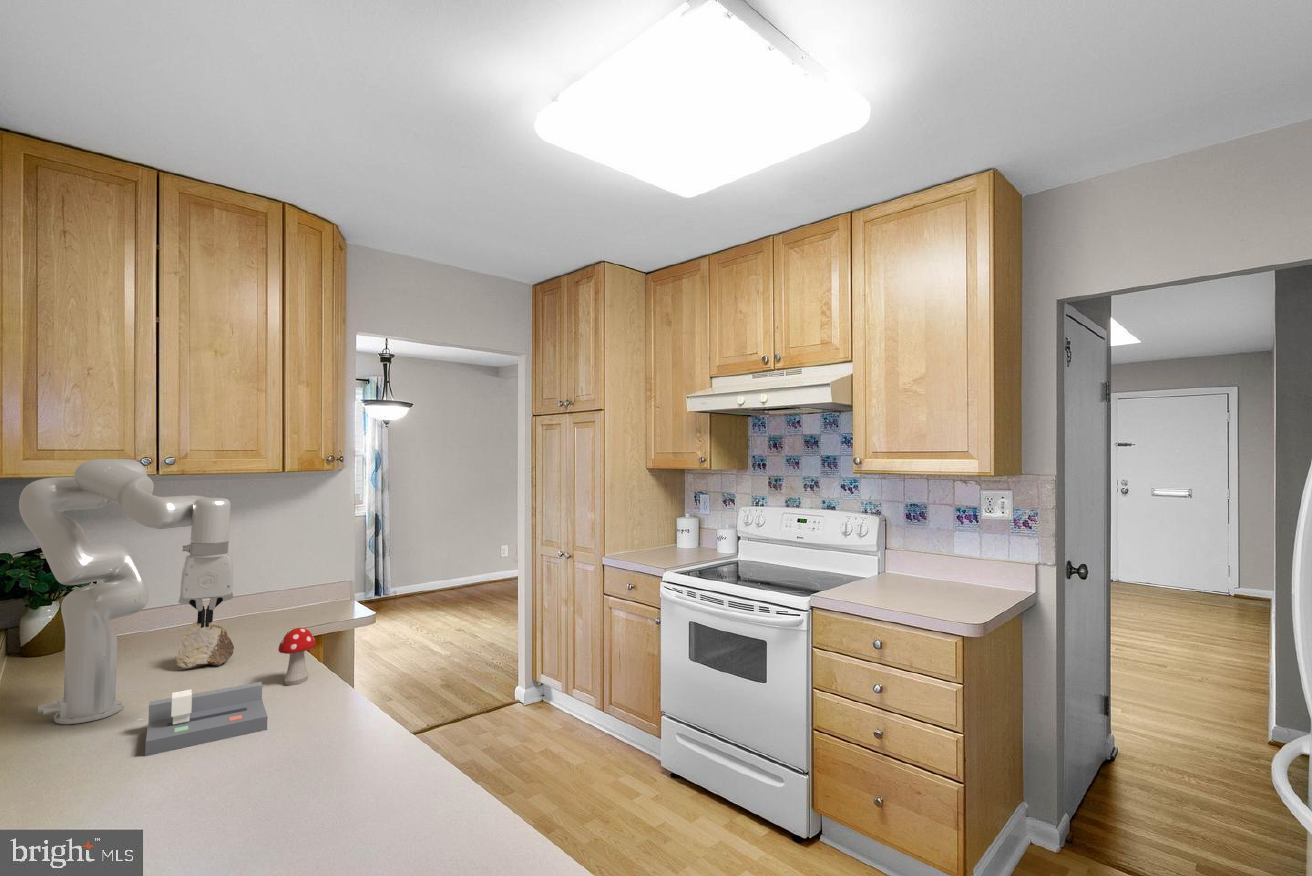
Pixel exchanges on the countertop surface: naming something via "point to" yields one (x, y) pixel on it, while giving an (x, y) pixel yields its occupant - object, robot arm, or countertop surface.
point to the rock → (204, 646)
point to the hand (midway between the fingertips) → (204, 625)
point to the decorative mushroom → (296, 654)
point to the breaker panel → (207, 718)
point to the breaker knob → (181, 706)
